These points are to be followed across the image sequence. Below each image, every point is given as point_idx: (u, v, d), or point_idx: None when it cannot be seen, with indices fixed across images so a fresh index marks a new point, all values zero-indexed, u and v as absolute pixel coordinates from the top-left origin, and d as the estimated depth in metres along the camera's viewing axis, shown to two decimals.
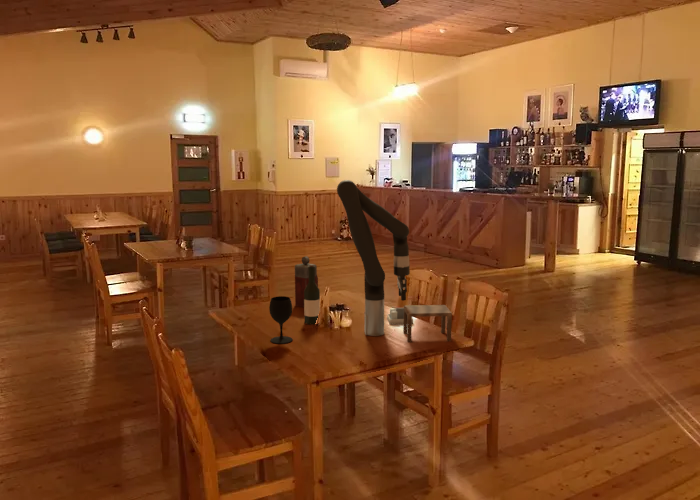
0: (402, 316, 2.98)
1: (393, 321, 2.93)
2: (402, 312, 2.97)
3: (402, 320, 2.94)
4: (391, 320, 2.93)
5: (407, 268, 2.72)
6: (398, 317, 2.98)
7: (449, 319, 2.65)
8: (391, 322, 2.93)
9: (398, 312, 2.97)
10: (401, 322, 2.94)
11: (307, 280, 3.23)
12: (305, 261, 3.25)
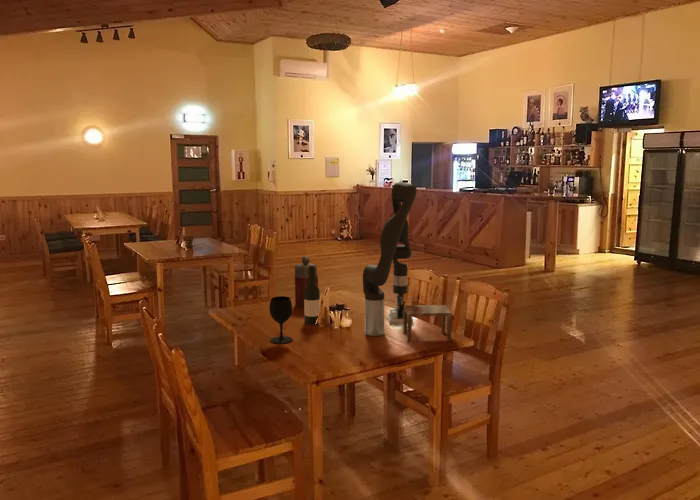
0: None
1: (393, 321, 2.93)
2: None
3: (402, 320, 2.94)
4: (391, 320, 2.93)
5: (405, 287, 2.93)
6: (398, 317, 2.98)
7: (449, 319, 2.65)
8: (391, 322, 2.93)
9: None
10: (401, 322, 2.94)
11: (307, 280, 3.23)
12: (305, 261, 3.25)
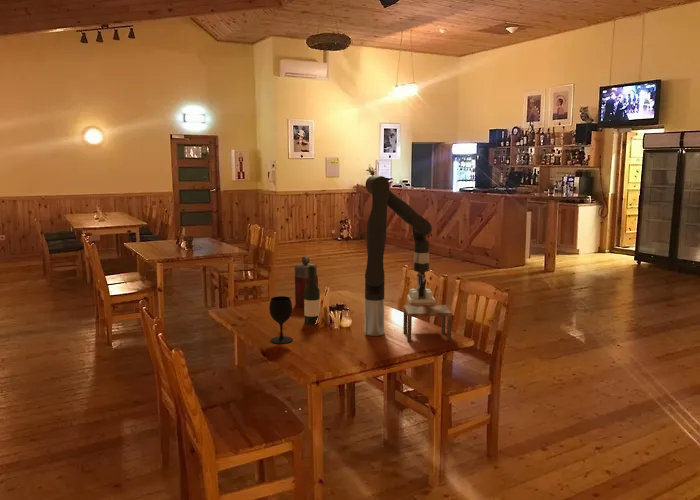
0: (423, 297, 2.84)
1: (414, 301, 2.80)
2: None
3: (424, 300, 2.80)
4: (412, 300, 2.80)
5: (427, 265, 2.79)
6: (419, 298, 2.84)
7: (449, 319, 2.65)
8: (412, 302, 2.80)
9: None
10: (422, 303, 2.80)
11: (307, 280, 3.23)
12: (305, 261, 3.25)
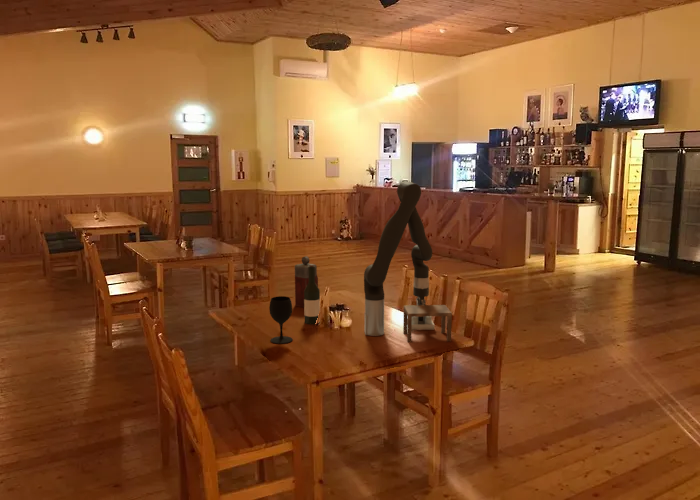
0: (423, 321, 2.86)
1: (414, 326, 2.82)
2: (423, 317, 2.86)
3: (423, 325, 2.82)
4: (412, 325, 2.82)
5: (427, 289, 2.81)
6: (419, 322, 2.86)
7: (449, 319, 2.65)
8: (412, 327, 2.82)
9: None
10: (422, 327, 2.82)
11: (307, 280, 3.23)
12: (305, 261, 3.25)
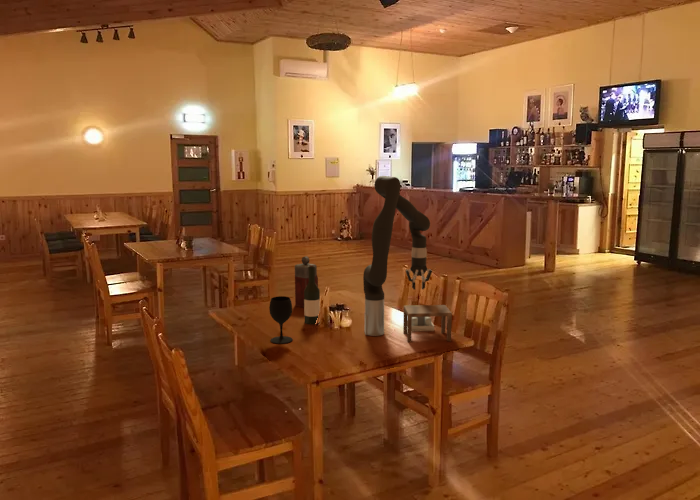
0: (423, 323, 2.86)
1: (413, 328, 2.82)
2: (423, 318, 2.86)
3: (423, 327, 2.82)
4: None
5: (414, 259, 2.90)
6: (418, 324, 2.86)
7: (449, 319, 2.65)
8: None
9: (418, 318, 2.86)
10: (422, 329, 2.82)
11: (307, 280, 3.23)
12: (305, 261, 3.25)
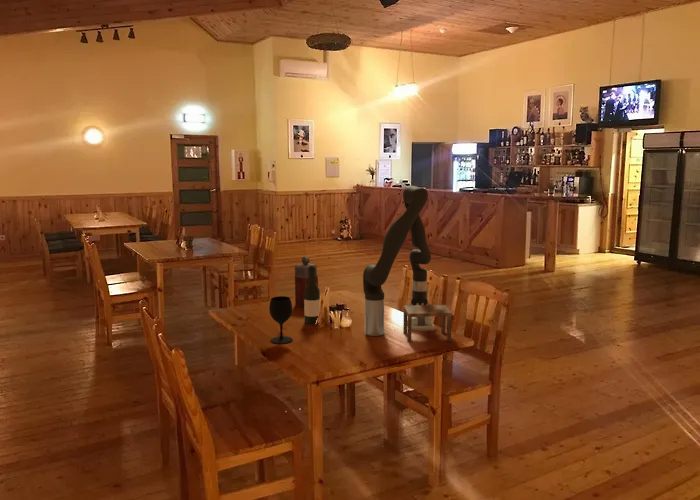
0: (423, 323, 2.86)
1: (413, 328, 2.82)
2: (423, 318, 2.86)
3: (423, 327, 2.82)
4: None
5: (414, 292, 2.88)
6: (418, 324, 2.86)
7: (449, 319, 2.65)
8: None
9: (418, 318, 2.86)
10: (422, 329, 2.82)
11: (307, 280, 3.23)
12: (305, 261, 3.25)
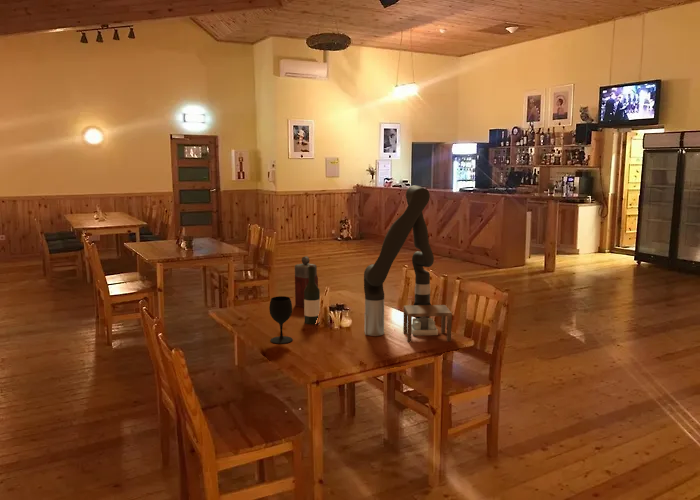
0: (426, 327, 2.80)
1: (417, 332, 2.76)
2: (426, 322, 2.80)
3: (426, 331, 2.76)
4: (414, 331, 2.75)
5: (417, 296, 2.81)
6: (421, 328, 2.80)
7: (449, 319, 2.65)
8: (414, 333, 2.76)
9: (422, 322, 2.79)
10: (425, 333, 2.76)
11: (307, 280, 3.23)
12: (305, 261, 3.25)
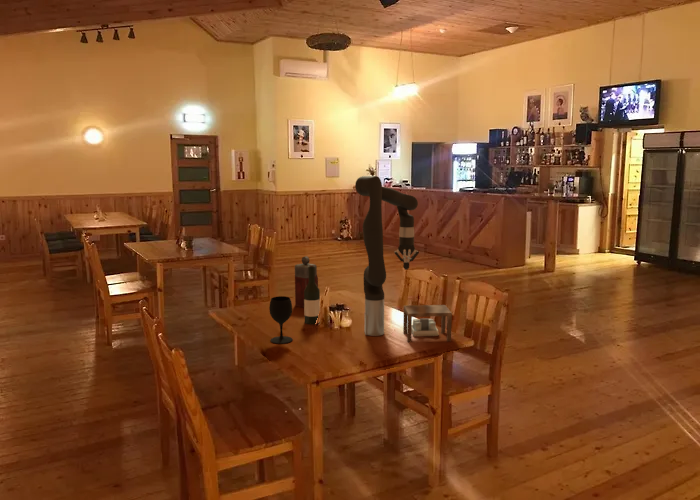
0: (426, 327, 2.79)
1: (417, 333, 2.74)
2: (426, 323, 2.78)
3: (427, 332, 2.75)
4: (415, 332, 2.74)
5: (401, 239, 2.90)
6: (422, 328, 2.79)
7: (449, 319, 2.65)
8: (415, 334, 2.74)
9: (422, 323, 2.78)
10: (426, 334, 2.75)
11: (307, 280, 3.23)
12: (305, 261, 3.25)
